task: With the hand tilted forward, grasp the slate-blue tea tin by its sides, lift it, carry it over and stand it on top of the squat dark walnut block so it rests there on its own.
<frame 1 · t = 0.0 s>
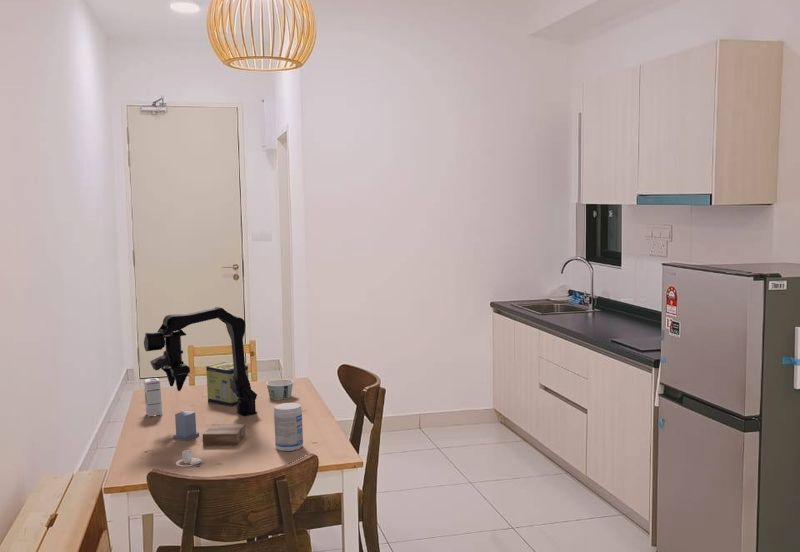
hand: (175, 388, 288), 15 cm above the table, tool pointing down, fingers open, 9 cm apart
protein box: (228, 401, 325), on the table
food container: (280, 397, 330), on the table
teacup and saucer: (185, 467, 245), on the table
supplement tub: (289, 448, 261), on the table
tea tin: (186, 437, 275), on the table
syrup box: (154, 415, 306), on the table
stack block: (224, 440, 271), on the table
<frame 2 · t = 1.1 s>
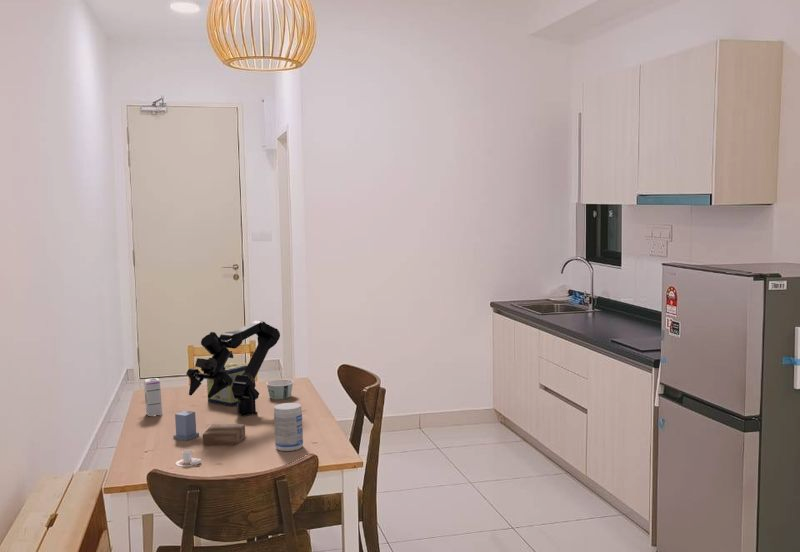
hand: (199, 396, 280), 13 cm above the table, tool tilted 45°, fingers open, 9 cm apart
nothing on the table moved.
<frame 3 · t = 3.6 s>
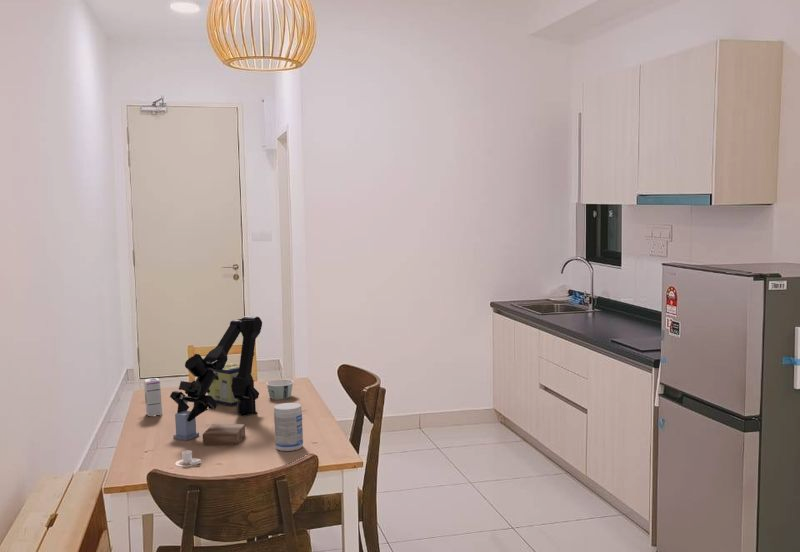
hand: (182, 420, 273), 7 cm above the table, tool tilted 45°, fingers closed on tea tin, 5 cm apart
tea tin: (186, 437, 275), on the table, touching gripper
everything else where it was.
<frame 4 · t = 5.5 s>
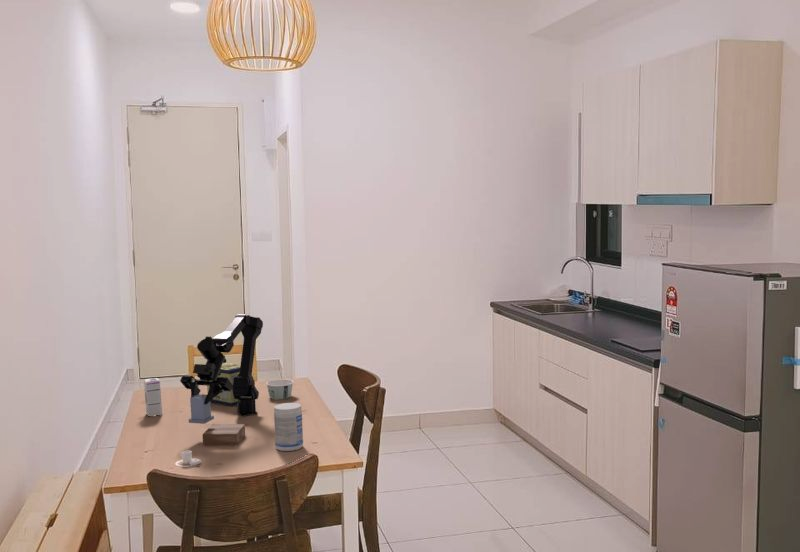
hand: (198, 403, 270), 13 cm above the table, tool tilted 45°, fingers closed on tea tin, 5 cm apart
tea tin: (201, 420, 272), point 7 cm above the table, touching gripper
everything else where it was.
when the fingers open (11 cm above the table, at t = 7.3 s): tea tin stays where it is, resting on stack block.
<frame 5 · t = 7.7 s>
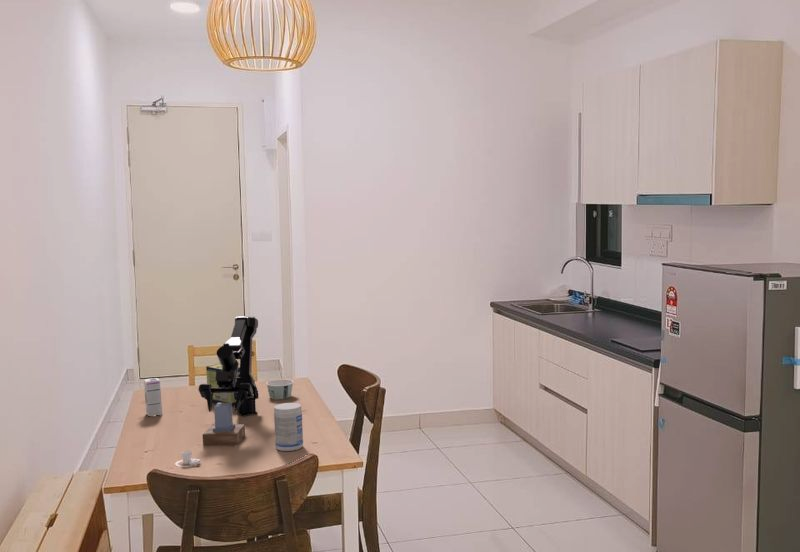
hand: (222, 411, 268), 11 cm above the table, tool tilted 45°, fingers open, 9 cm apart
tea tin: (224, 429, 270), point 4 cm above the table, touching stack block
everything else where it was.
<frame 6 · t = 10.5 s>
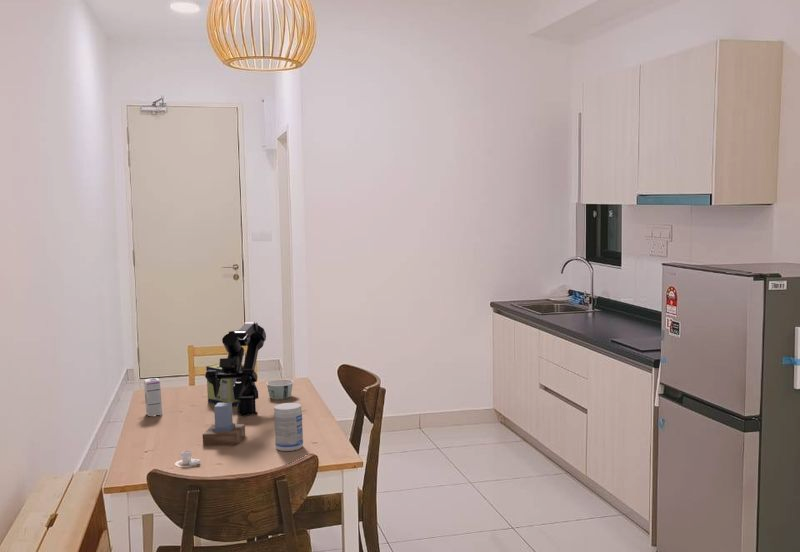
hand: (227, 396, 279), 13 cm above the table, tool tilted 45°, fingers open, 9 cm apart
nothing on the table moved.
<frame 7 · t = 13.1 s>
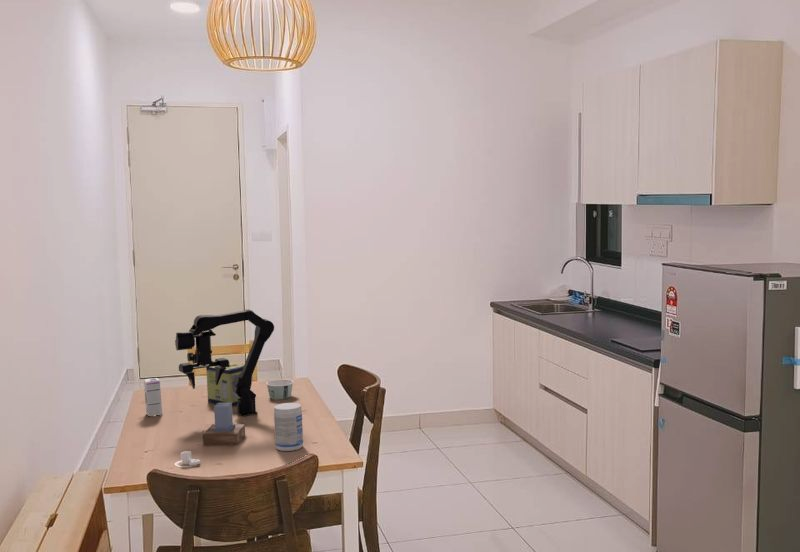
hand: (205, 386, 297), 13 cm above the table, tool pointing down, fingers open, 9 cm apart
nothing on the table moved.
at the end: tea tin inside the target area on the stack block (0.0 cm from its centre), point 4.0 cm above the stack block's base; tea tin tilted 0°; the gripper is holding nothing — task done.
